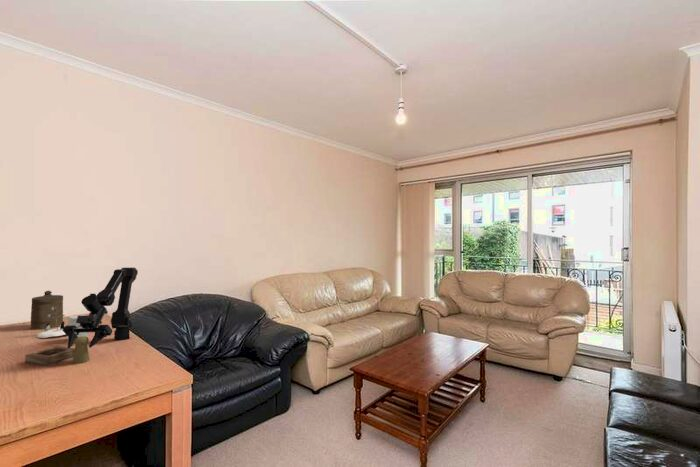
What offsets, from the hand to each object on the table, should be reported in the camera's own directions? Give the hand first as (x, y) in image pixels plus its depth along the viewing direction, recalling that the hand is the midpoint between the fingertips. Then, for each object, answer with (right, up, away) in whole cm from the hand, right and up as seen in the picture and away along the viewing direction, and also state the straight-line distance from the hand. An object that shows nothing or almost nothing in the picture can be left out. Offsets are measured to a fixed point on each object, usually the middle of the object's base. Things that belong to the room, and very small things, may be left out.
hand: (79, 347), depth 150 cm
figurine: (-46, -7, +42) cm, 63 cm away
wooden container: (-67, -7, +58) cm, 89 cm away
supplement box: (-27, -7, +33) cm, 43 cm away
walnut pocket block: (-15, -7, +3) cm, 17 cm away
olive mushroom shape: (0, -7, +1) cm, 7 cm away
